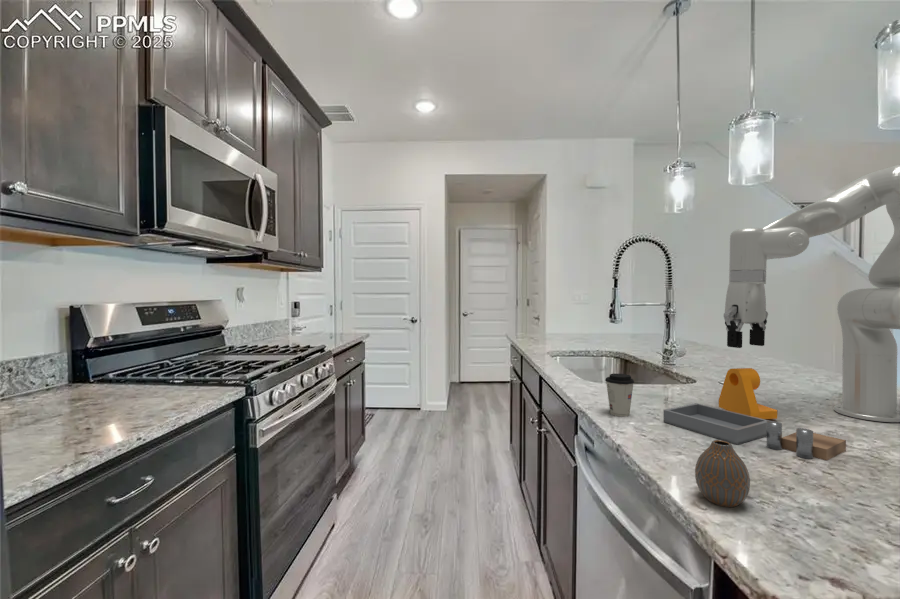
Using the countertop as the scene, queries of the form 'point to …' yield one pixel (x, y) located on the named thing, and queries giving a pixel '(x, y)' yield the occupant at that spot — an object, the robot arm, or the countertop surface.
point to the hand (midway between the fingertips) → (745, 346)
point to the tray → (717, 423)
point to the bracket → (743, 394)
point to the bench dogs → (802, 439)
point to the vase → (722, 475)
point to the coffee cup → (619, 394)
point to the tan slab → (818, 445)
